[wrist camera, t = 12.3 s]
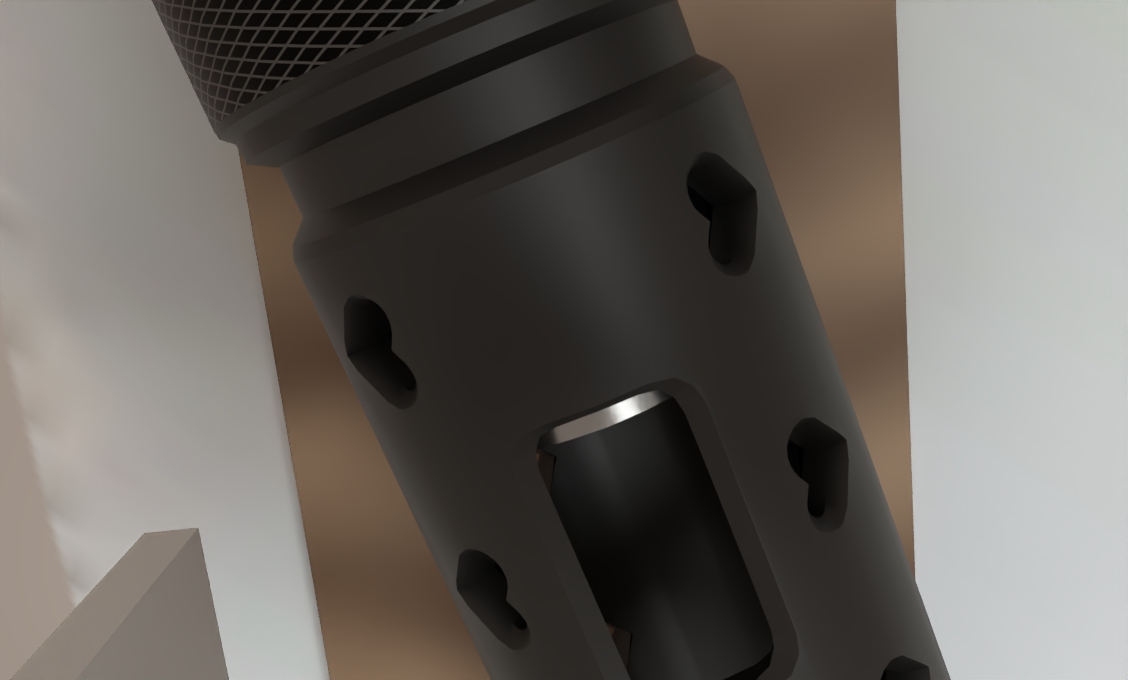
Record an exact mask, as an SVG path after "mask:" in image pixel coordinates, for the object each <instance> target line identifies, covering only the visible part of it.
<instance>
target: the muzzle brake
mask: <svg viewBox="0 0 1128 680" xmlns="http://www.w3.org/2000/svg"><path fill="white" fill-rule="evenodd" d="M152 2H153V4H154V6H155V8H156V10H157V12H158V14H159V16H160V18H161V21H162V23H163V25H164V27H165V29H166V31H167V33H168V35H169V37H170V40H171V42H172V44H173V46H174V48H175V50H176V52H177V54H178V56H179V58H180V61H181V63H182V65H183V67H184V69H185V71H186V73H187V75H188V77H189V79H190V82H191V84H192V86H193V88H194V90H195V92H196V94H197V96H198V98H199V101H200V103H201V105H202V107H203V109H204V111H205V113H206V115H207V117H208V119H209V122H210V124H211V126H212V128H213V130H214V132H215V134H216V135H217V136H218V138H219V139H220V140H223V141H226V142H230V143H233V144H236V146H237V147H238V149H239V151H240V153H241V155H242V157H243V159H244V161H245V163H246V165H255V166H266V167H276V168H279V169H280V171H281V173H282V175H283V177H284V179H285V181H286V183H287V185H288V187H289V189H290V192H291V194H292V196H293V198H294V200H295V202H296V204H297V206H298V208H299V210H300V212H301V215H302V217H303V219H302V221H301V224H300V227H299V229H298V232H297V234H296V237H295V240H294V242H293V245H292V247H293V261H294V264H295V266H296V268H297V270H298V272H299V274H300V276H301V278H302V281H303V283H304V285H305V287H306V289H307V291H308V293H309V295H310V297H311V300H312V302H313V304H314V306H315V308H316V310H317V312H318V314H319V317H320V319H321V321H322V323H323V325H324V327H325V329H326V331H327V334H328V336H329V338H330V340H331V342H332V344H333V346H334V348H335V351H336V353H337V355H338V357H339V359H340V361H341V363H342V365H343V368H344V370H345V372H346V374H347V376H348V378H349V380H350V382H351V384H352V387H353V389H354V391H355V393H356V395H357V397H358V399H359V401H360V404H361V406H362V408H363V410H364V412H365V414H366V416H367V418H368V421H369V423H370V425H371V427H372V429H373V431H374V433H375V435H376V438H377V440H378V442H379V444H380V446H381V448H382V450H383V452H384V454H385V457H386V459H387V461H388V463H389V465H390V467H391V469H392V471H393V474H394V476H395V478H396V480H397V482H398V484H399V486H400V488H401V491H402V493H403V495H404V497H405V499H406V501H407V503H408V505H409V508H410V510H411V512H412V514H413V516H414V518H415V520H416V522H417V524H418V527H419V529H420V531H421V533H422V535H423V537H424V539H425V541H426V544H427V546H428V548H429V550H430V552H431V554H432V556H433V558H434V561H435V563H436V565H437V567H438V569H439V571H440V573H441V575H442V578H443V580H444V582H445V584H446V586H447V588H448V590H449V592H450V594H451V597H452V599H453V601H454V603H455V605H456V607H457V609H458V611H459V614H460V616H461V618H462V620H463V622H464V624H465V626H466V628H467V631H468V633H469V635H470V637H471V639H472V641H473V643H474V645H475V648H476V650H477V652H478V654H479V656H480V658H481V660H482V662H483V664H484V667H485V669H486V671H487V673H488V675H489V677H490V679H491V680H951V679H950V676H949V674H948V671H947V668H946V665H945V663H944V660H943V657H942V654H941V651H940V649H939V646H938V643H937V640H936V637H935V635H934V632H933V629H932V626H931V623H930V621H929V618H928V615H927V612H926V609H925V607H924V604H923V601H922V598H921V595H920V593H919V590H918V587H917V584H916V582H915V579H914V576H913V573H912V570H911V568H910V565H909V562H908V559H907V556H906V554H905V551H904V548H903V545H902V542H901V540H900V537H899V534H898V531H897V528H896V526H895V523H894V520H893V517H892V514H891V512H890V509H889V506H888V503H887V501H886V498H885V495H884V492H883V489H882V487H881V484H880V481H879V478H878V475H877V473H876V470H875V467H874V464H873V461H872V459H871V456H870V453H869V450H868V447H867V445H866V442H865V439H864V436H863V433H862V431H861V428H860V425H859V422H858V420H857V417H856V414H855V411H854V408H853V406H852V403H851V400H850V397H849V394H848V392H847V389H846V386H845V383H844V380H843V378H842V375H841V372H840V369H839V366H838V364H837V361H836V358H835V355H834V352H833V350H832V347H831V344H830V341H829V339H828V336H827V333H826V330H825V327H824V325H823V322H822V319H821V316H820V313H819V311H818V308H817V305H816V302H815V299H814V297H813V294H812V291H811V288H810V285H809V283H808V280H807V277H806V274H805V271H804V269H803V266H802V263H801V260H800V257H799V255H798V252H797V249H796V246H795V244H794V241H793V238H792V235H791V232H790V230H789V227H788V224H787V221H786V218H785V216H784V213H783V210H782V207H781V204H780V202H779V199H778V196H777V193H776V190H775V188H774V185H773V182H772V179H771V176H770V174H769V171H768V168H767V165H766V163H765V160H764V157H763V154H762V151H761V149H760V146H759V143H758V140H757V137H756V135H755V132H754V129H753V126H752V123H751V121H750V118H749V115H748V112H747V109H746V107H745V104H744V101H743V98H742V95H741V93H740V90H739V87H738V84H737V82H736V79H735V77H734V76H733V75H732V74H731V73H730V72H729V70H728V69H727V68H726V67H725V66H724V65H721V64H719V63H717V62H714V61H712V60H710V59H707V58H705V57H703V56H701V55H698V54H696V51H695V48H694V45H693V42H692V40H691V37H690V34H689V31H688V28H687V25H686V23H685V20H684V17H683V14H682V11H681V8H680V5H679V3H678V0H152ZM535 452H536V453H538V454H540V456H539V459H538V462H537V458H536V453H535ZM607 626H608V627H611V628H613V629H614V631H613V635H612V637H611V634H610V632H609V630H608V627H607Z"/></svg>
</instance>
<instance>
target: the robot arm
mask: <svg viewBox="0 0 1128 680" xmlns="http://www.w3.org/2000/svg"><path fill="white" fill-rule="evenodd" d="M10 680H229V678H228V673H227V668H226V663H225V658H224V653H223V648H222V643H221V638H220V633H219V628H218V623H217V618H216V613H215V608H214V604H213V599H212V594H211V589H210V584H209V579H208V574H207V569H206V564H205V559H204V554H203V549H202V544H201V539H200V534H199V529H198V528H191V529H181V530H172V531H162V532H152V533H144V534H143V535H142V536H141V537H140V539H139V540H138V541H137V542H136V543H135V544H134V545H133V546H132V547H131V548H130V549H129V551H128V552H127V553H126V554H125V555H124V556H123V557H122V558H121V559H120V560H119V561H118V563H117V564H116V565H115V566H114V567H113V568H112V569H111V570H110V571H109V572H108V574H107V575H106V576H105V577H104V578H103V579H102V580H101V581H100V582H99V583H98V584H97V586H96V587H95V588H94V589H93V590H92V591H91V592H90V593H89V594H88V595H87V596H86V598H85V599H84V600H83V601H82V602H81V603H80V604H79V605H78V606H77V607H76V608H75V610H74V611H73V612H72V613H71V614H70V615H69V616H68V617H67V618H66V619H65V621H64V622H63V623H62V624H61V625H60V626H59V627H58V628H57V629H56V630H55V631H54V632H53V634H52V635H51V636H50V637H49V638H48V639H47V640H46V641H45V642H44V644H42V646H41V647H40V648H39V649H38V650H37V651H36V652H35V653H34V654H33V655H32V656H31V658H30V659H29V660H28V661H27V662H26V663H25V664H24V665H23V666H22V667H21V669H20V670H19V671H18V672H17V673H16V674H15V675H14V676H13V677H12V679H10Z"/></svg>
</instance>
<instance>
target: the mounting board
mask: <svg viewBox="0 0 1128 680" xmlns="http://www.w3.org/2000/svg"><path fill="white" fill-rule="evenodd" d="M678 3H679V5H680V8H681V11H682V14H683V17H684V20H685V23H686V25H687V28H688V31H689V34H690V37H691V40H692V42H693V45H694V48H695V51H696V54H698V55H701V56H703V57H705V58H707V59H710V60H712V61H714V62H717V63H719V64H721V65H724V66H725V67H726V68H727V69H728V70H729V72H730V73H731V74H732V75H733V76H734V77H735V79H736V82H737V84H738V87H739V90H740V93H741V95H742V98H743V101H744V104H745V107H746V109H747V112H748V115H749V118H750V121H751V123H752V126H753V129H754V132H755V135H756V137H757V140H758V143H759V146H760V149H761V151H762V154H763V157H764V160H765V163H766V165H767V168H768V171H769V174H770V176H771V179H772V182H773V185H774V188H775V190H776V193H777V196H778V199H779V202H780V204H781V207H782V210H783V213H784V216H785V218H786V221H787V224H788V227H789V230H790V232H791V235H792V238H793V241H794V244H795V246H796V249H797V252H798V255H799V257H800V260H801V263H802V266H803V269H804V271H805V274H806V277H807V280H808V283H809V285H810V288H811V291H812V294H813V297H814V299H815V302H816V305H817V308H818V311H819V313H820V316H821V319H822V322H823V325H824V327H825V330H826V333H827V336H828V339H829V341H830V344H831V347H832V350H833V352H834V355H835V358H836V361H837V364H838V366H839V369H840V372H841V375H842V378H843V380H844V383H845V386H846V389H847V392H848V394H849V397H850V400H851V403H852V406H853V408H854V411H855V414H856V417H857V420H858V422H859V425H860V428H861V431H862V433H863V436H864V439H865V442H866V445H867V447H868V450H869V453H870V456H871V459H872V461H873V464H874V467H875V470H876V473H877V475H878V478H879V481H880V484H881V487H882V489H883V492H884V495H885V498H886V501H887V503H888V506H889V509H890V512H891V514H892V517H893V520H894V523H895V526H896V528H897V531H898V534H899V537H900V540H901V542H902V545H903V548H904V551H905V554H906V556H907V559H908V562H909V565H910V568H911V570H912V573H913V576H914V579H915V561H914V531H913V501H912V472H911V442H910V412H909V383H908V353H907V323H906V293H905V264H904V234H903V204H902V175H901V145H900V115H899V86H898V56H897V26H896V0H678ZM238 150H239V149H238ZM239 156H240V161H241V167H242V173H243V179H244V185H245V190H246V196H247V202H248V208H249V213H250V219H251V225H252V231H253V236H254V242H255V248H256V254H257V260H258V265H259V271H260V277H261V283H262V288H263V294H264V300H265V306H266V311H267V317H268V323H269V329H270V335H271V340H272V346H273V352H274V358H275V363H276V369H277V375H278V381H279V386H280V392H281V398H282V404H283V410H284V415H285V421H286V427H287V433H288V438H289V444H290V450H291V456H292V462H293V467H294V473H295V479H296V485H297V490H298V496H299V502H300V508H301V513H302V519H303V525H304V531H305V537H306V542H307V548H308V554H309V560H310V565H311V571H312V577H313V583H314V588H315V594H316V600H317V606H318V612H319V617H320V623H321V629H322V635H323V640H324V646H325V652H326V658H327V663H328V669H329V675H330V680H491V679H490V677H489V675H488V673H487V671H486V669H485V667H484V664H483V662H482V660H481V658H480V656H479V654H478V652H477V650H476V648H475V645H474V643H473V641H472V639H471V637H470V635H469V633H468V631H467V628H466V626H465V624H464V622H463V620H462V618H461V616H460V614H459V611H458V609H457V607H456V605H455V603H454V601H453V599H452V597H451V594H450V592H449V590H448V588H447V586H446V584H445V582H444V580H443V578H442V575H441V573H440V571H439V569H438V567H437V565H436V563H435V561H434V558H433V556H432V554H431V552H430V550H429V548H428V546H427V544H426V541H425V539H424V537H423V535H422V533H421V531H420V529H419V527H418V524H417V522H416V520H415V518H414V516H413V514H412V512H411V510H410V508H409V505H408V503H407V501H406V499H405V497H404V495H403V493H402V491H401V488H400V486H399V484H398V482H397V480H396V478H395V476H394V474H393V471H392V469H391V467H390V465H389V463H388V461H387V459H386V457H385V454H384V452H383V450H382V448H381V446H380V444H379V442H378V440H377V438H376V435H375V433H374V431H373V429H372V427H371V425H370V423H369V421H368V418H367V416H366V414H365V412H364V410H363V408H362V406H361V404H360V401H359V399H358V397H357V395H356V393H355V391H354V389H353V387H352V384H351V382H350V380H349V378H348V376H347V374H346V372H345V370H344V368H343V365H342V363H341V361H340V359H339V357H338V355H337V353H336V351H335V348H334V346H333V344H332V342H331V340H330V338H329V336H328V334H327V331H326V329H325V327H324V325H323V323H322V321H321V319H320V317H319V314H318V312H317V310H316V308H315V306H314V304H313V302H312V300H311V297H310V295H309V293H308V291H307V289H306V287H305V285H304V283H303V281H302V278H301V276H300V274H299V272H298V270H297V268H296V266H295V264H294V261H293V247H292V245H293V242H294V240H295V237H296V234H297V232H298V229H299V227H300V224H301V221H302V219H303V217H302V215H301V212H300V210H299V208H298V206H297V204H296V202H295V200H294V198H293V196H292V194H291V192H290V189H289V187H288V185H287V183H286V181H285V179H284V177H283V175H282V173H281V171H280V169H279V168H276V167H266V166H255V165H246V163H245V161H244V159H243V157H242V155H241V153H240V151H239ZM535 453H536V452H535ZM539 456H540V454H538V453H536V458H537V462H538V459H539ZM607 627H608V626H607ZM608 630H609V632H610V634H611V637H612V635H613V631H614V629H613V628H611V627H608Z"/></svg>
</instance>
